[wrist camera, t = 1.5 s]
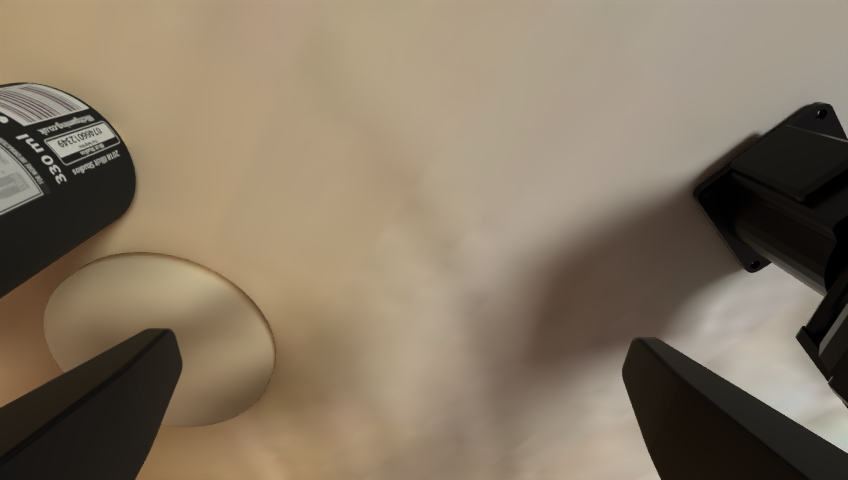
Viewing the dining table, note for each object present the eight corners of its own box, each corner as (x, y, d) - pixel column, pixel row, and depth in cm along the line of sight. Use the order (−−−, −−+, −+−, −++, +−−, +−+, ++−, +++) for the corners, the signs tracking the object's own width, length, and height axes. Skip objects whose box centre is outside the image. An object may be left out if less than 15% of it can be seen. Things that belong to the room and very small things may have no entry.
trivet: (318, 342, 25) (315, 352, 24) (201, 442, 28) (196, 453, 28) (124, 207, 20) (114, 213, 20) (16, 344, 24) (4, 354, 23)
